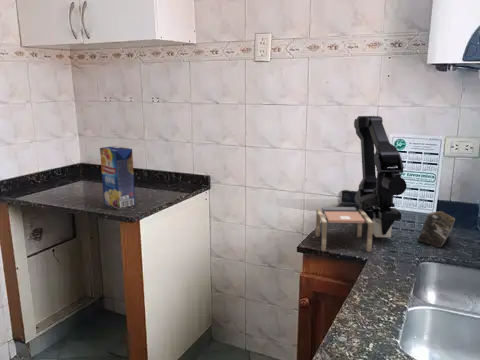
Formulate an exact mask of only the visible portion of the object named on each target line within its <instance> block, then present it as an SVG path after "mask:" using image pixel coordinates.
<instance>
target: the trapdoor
mask: <svg viewBox="0 0 480 360" xmlns="http://www.w3.org/2000/svg"><path fill="white" fill-rule="evenodd" d="M321 211H358V210H357V208H356V206H322V207H321ZM323 215H324V217H325V219H326V221H327V223H329V224H358V223H362V224H366V222H365V220H364V219H363V218H362V216H361V215H360V214H359V212H324V213H323Z"/></svg>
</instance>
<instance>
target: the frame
mask: <svg viewBox="0 0 480 360" xmlns="http://www.w3.org/2000/svg"><path fill="white" fill-rule="evenodd" d="M324 212H359V214H360V215H361V216H362V218H364V220H365V221H366V222H365V223H366V224H367V235H366V237H367V238H366V252H368V253H370V252H372V248H373V247H372V245H373V235H374V234H373V222H372V220H371V219H370V218H369V217H368V216H367V214H366V213H365V212H364V211H363V210H362V209H359V208H358V210H357V211H322V209H321V208H317V209H316V212H315V213H316V214H315V215H316V217H315V237H318V238H320V235H321V248H320V250H321V252H326V251H327V231H328V230H327V229H328V220H327V218H326V216H325V214H323V213H324ZM362 232H363V223H357V231H356V237H357V238H362V234H363V233H362ZM320 233H321V234H320Z"/></svg>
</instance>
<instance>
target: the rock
mask: <svg viewBox="0 0 480 360" xmlns="http://www.w3.org/2000/svg"><path fill="white" fill-rule="evenodd" d="M455 221H456V218H455V217H453V216H451V215H449V214H447V213H445V212H444V211H442V210H439V211H434V212H433V211H431V212H428V213H427V216H426V219H425V220H424V223H423V226H422V228H421V231H420V233H419V237H418V239H417V241H419V242H421V243H426V244H428V245H431V246H434V247H437V248H441V247H443V245H444V244H445V243H446V241H447V239H448V238H449V236H450V234H451V232H452V229H453V228H454V223H455Z"/></svg>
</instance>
